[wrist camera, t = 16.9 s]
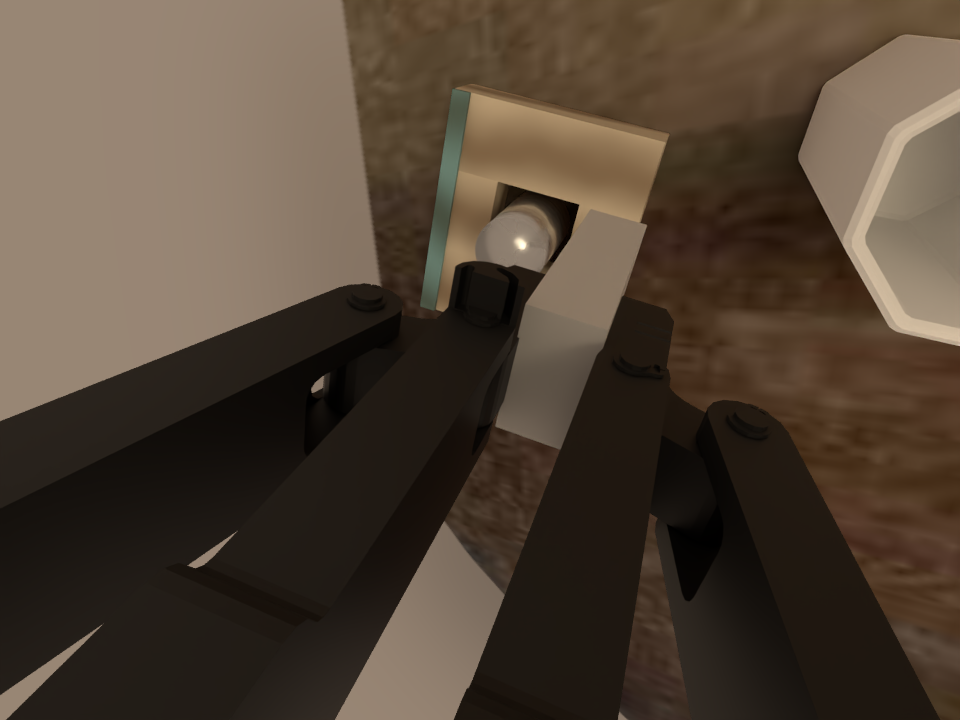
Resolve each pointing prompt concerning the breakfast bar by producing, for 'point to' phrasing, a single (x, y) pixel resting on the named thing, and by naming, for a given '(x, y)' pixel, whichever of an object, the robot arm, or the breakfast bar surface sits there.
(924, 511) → the breakfast bar surface
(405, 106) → the breakfast bar surface
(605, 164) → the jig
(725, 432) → the robot arm
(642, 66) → the breakfast bar surface
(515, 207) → the grey metal cylinder
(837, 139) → the cup
